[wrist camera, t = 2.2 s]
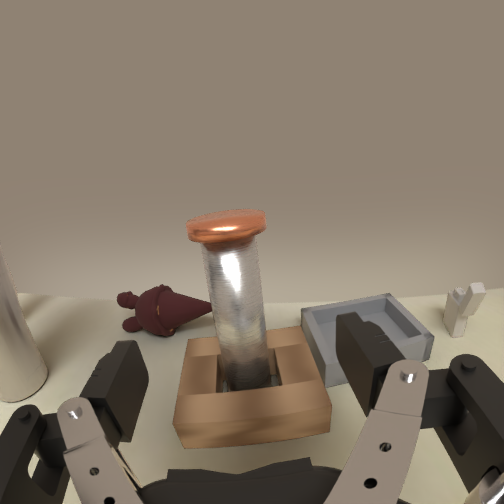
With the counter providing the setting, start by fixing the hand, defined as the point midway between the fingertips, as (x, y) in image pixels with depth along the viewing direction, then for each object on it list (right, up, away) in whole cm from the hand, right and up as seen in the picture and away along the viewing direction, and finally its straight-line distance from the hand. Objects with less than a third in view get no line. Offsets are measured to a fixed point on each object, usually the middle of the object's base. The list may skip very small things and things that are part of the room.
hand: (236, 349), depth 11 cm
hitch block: (+1, -10, +15) cm, 18 cm away
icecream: (-11, -7, +28) cm, 31 cm away
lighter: (+25, -6, +18) cm, 32 cm away
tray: (+13, -7, +20) cm, 25 cm away
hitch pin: (+1, -10, +15) cm, 18 cm away
